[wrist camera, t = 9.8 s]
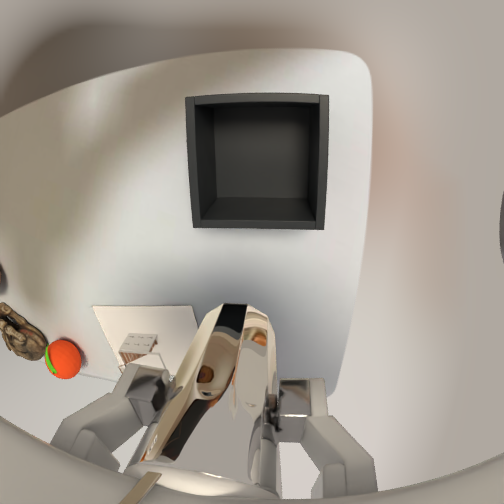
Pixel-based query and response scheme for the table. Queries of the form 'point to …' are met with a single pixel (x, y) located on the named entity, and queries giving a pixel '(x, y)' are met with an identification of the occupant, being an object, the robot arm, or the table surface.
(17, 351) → the figurine
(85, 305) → the table surface
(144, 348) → the cream slotted box
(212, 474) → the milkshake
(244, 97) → the bin
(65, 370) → the clementine
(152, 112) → the table surface
